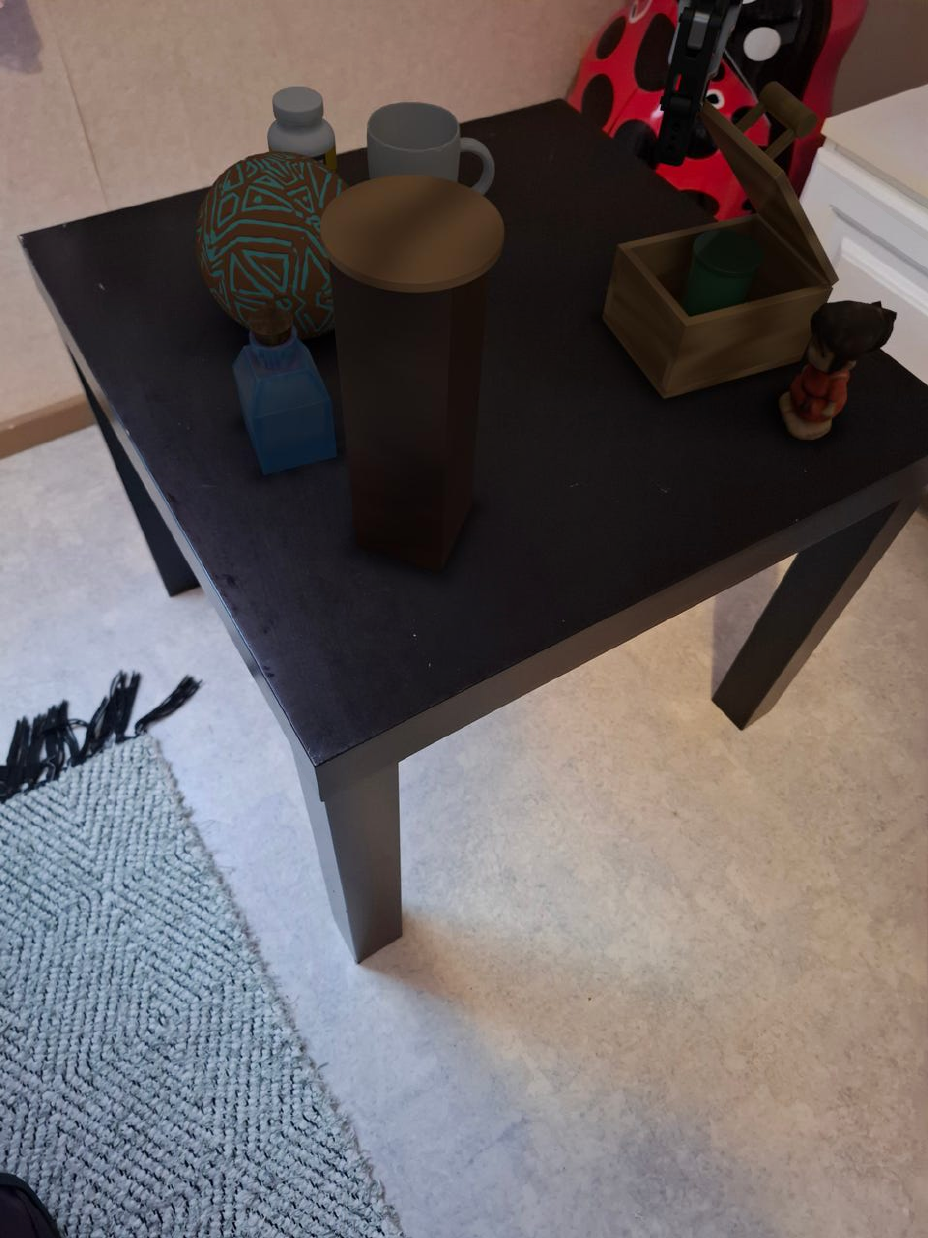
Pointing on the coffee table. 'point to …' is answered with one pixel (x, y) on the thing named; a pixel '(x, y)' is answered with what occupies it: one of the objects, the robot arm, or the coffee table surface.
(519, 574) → the coffee table surface
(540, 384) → the coffee table surface
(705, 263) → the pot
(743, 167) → the lid
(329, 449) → the perfume bottle
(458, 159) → the mug
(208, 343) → the coffee table surface
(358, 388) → the tall pedestal column
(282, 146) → the pill bottle
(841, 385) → the figurine
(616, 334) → the chest
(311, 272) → the decorative sphere
